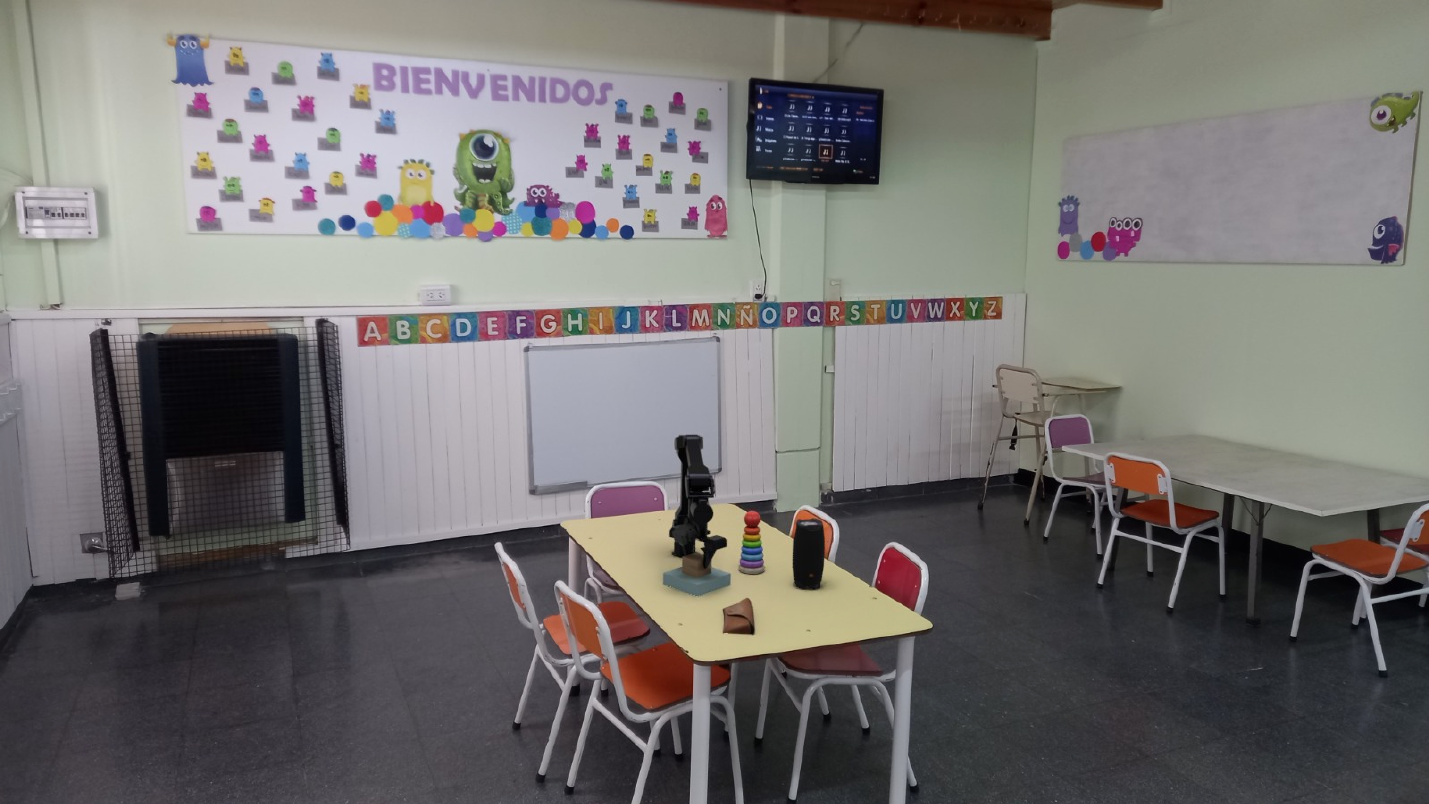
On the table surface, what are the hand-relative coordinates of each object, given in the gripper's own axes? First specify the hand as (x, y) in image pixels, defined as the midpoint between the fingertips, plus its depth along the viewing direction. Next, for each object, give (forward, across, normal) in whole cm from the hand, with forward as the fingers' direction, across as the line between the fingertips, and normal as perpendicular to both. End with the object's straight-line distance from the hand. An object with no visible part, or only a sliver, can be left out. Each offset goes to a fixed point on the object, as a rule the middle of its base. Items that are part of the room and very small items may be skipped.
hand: (697, 565), depth 277 cm
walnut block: (+2, 0, 0) cm, 2 cm away
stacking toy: (+6, +3, +21) cm, 22 cm away
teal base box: (+6, 0, 0) cm, 6 cm away
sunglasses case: (+6, +27, -12) cm, 30 cm away
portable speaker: (+6, +23, +23) cm, 33 cm away
